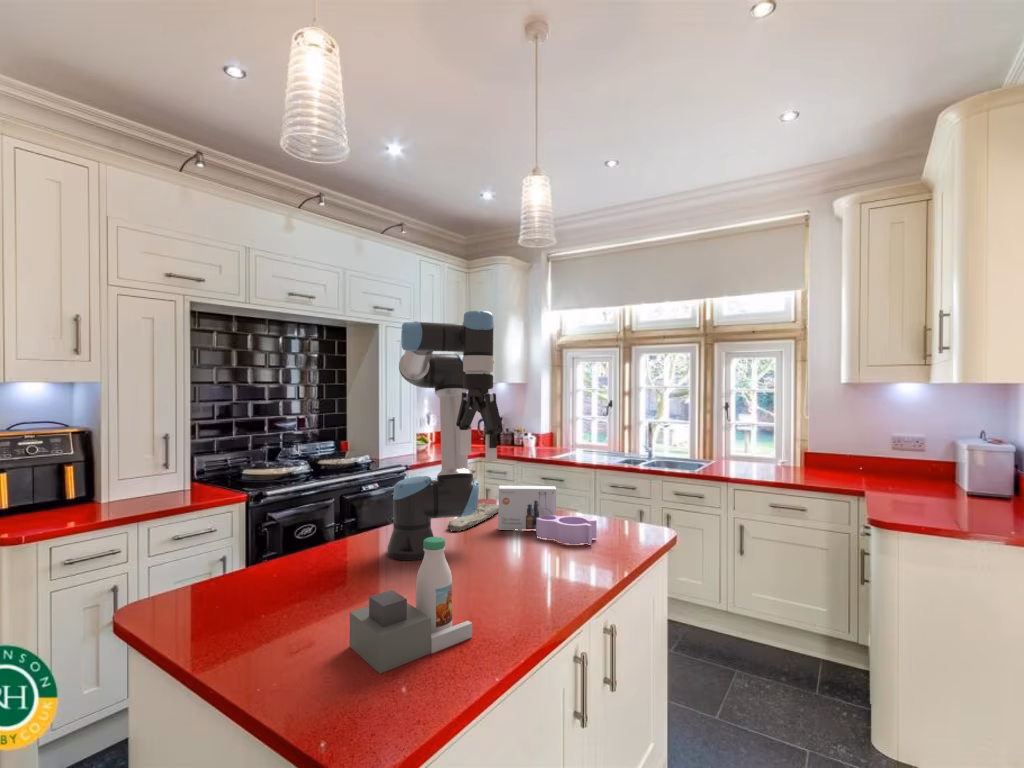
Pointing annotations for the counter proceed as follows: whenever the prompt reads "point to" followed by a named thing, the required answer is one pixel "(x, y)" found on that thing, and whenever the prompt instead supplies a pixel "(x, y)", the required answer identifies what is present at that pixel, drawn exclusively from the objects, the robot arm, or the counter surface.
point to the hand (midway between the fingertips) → (477, 458)
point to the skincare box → (524, 506)
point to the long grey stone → (473, 517)
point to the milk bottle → (435, 585)
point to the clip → (566, 528)
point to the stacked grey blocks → (398, 632)
